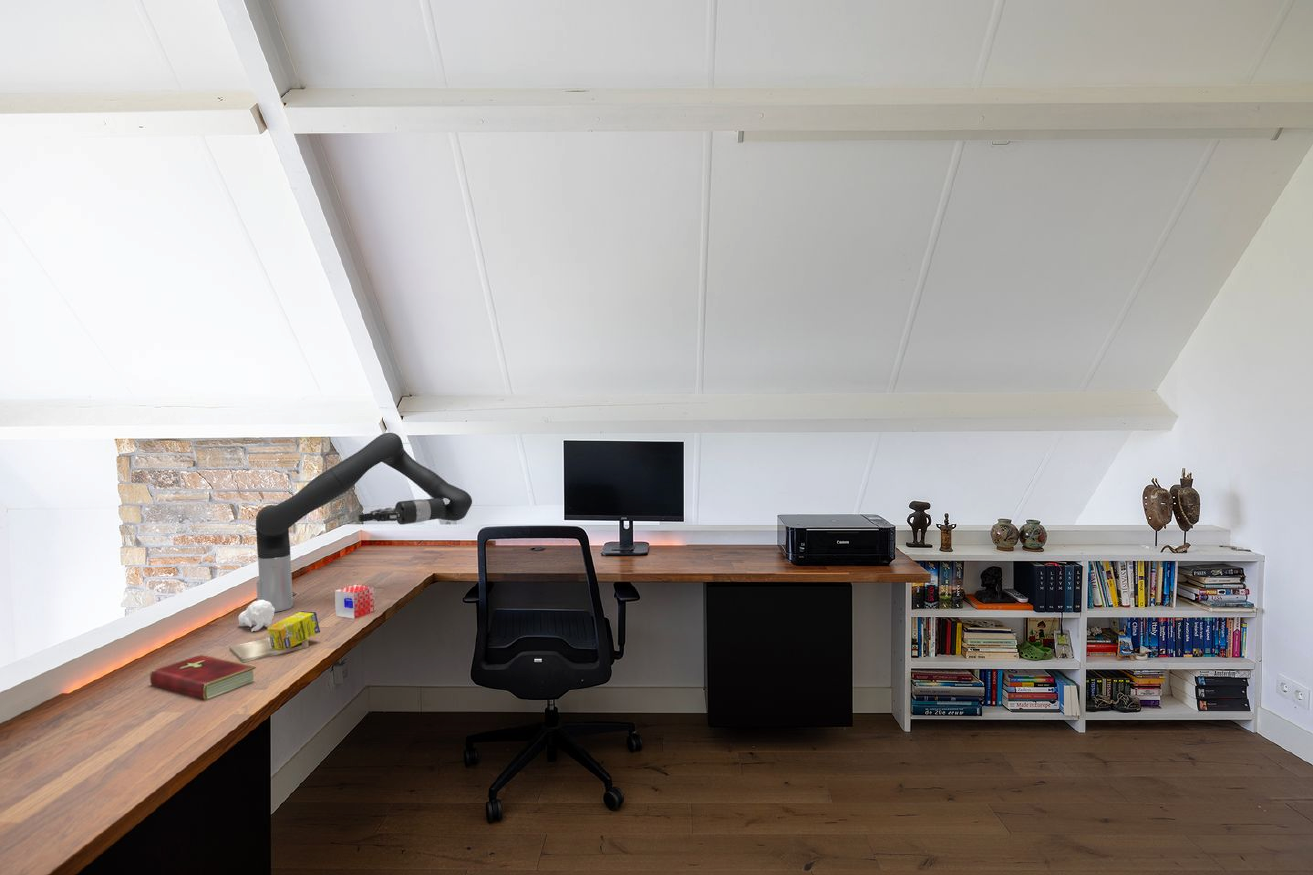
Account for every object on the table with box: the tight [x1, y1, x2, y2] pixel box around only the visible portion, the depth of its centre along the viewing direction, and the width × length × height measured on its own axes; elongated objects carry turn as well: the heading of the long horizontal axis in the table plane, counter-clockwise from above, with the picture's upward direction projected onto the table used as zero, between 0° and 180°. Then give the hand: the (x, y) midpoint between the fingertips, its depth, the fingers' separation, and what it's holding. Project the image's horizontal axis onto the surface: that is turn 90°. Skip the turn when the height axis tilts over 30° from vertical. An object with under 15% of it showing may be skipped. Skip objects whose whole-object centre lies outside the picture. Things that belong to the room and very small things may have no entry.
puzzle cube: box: [334, 584, 375, 619], centre depth 222 cm, size 8×8×8 cm
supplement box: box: [266, 610, 321, 650], centre depth 191 cm, size 6×6×11 cm
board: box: [229, 637, 309, 664], centre depth 191 cm, size 16×14×2 cm
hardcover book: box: [149, 653, 257, 701], centre depth 167 cm, size 12×21×4 cm, turn 63°
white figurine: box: [238, 600, 275, 633], centre depth 209 cm, size 6×8×12 cm
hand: (359, 518), depth 220 cm, fingers closed
